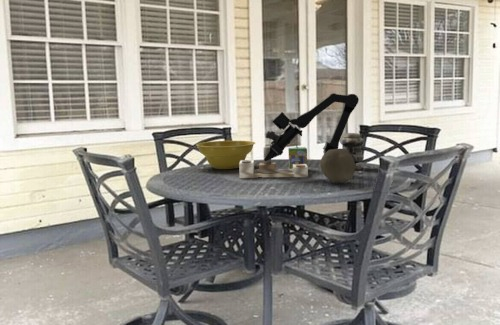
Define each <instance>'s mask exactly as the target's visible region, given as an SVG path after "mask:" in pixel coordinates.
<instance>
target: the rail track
mask: <svg viewBox="0 0 500 325" xmlns="http://www.w3.org/2000/svg"><path fill="white" fill-rule="evenodd" d="M238 168H239V171H238V172H239V179H255V178H256V179H257V178H258V177H262V178H292V177H293V178H309V166H308V167H307V165H306V164H293V169H289V168H276V170H259V168H257V169H255V160H254V159H248V160H247V159H245V160H241V161H240V163H239V167H238Z"/></svg>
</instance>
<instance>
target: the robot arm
mask: <svg viewBox="0 0 500 325" xmlns="http://www.w3.org/2000/svg"><path fill="white" fill-rule="evenodd" d="M359 100H360V99H359V96H358V95H357V94H355V93H348V94H340V93H339V94H338V93H334V92H333V93H330V94H329V95H328V96H327V97H326V98H324V99H322V101H320V102H319V103H318V104H317V105H315V106H313V108H311V109H310V110H308V111H306V112H304V113H302V114H300V115H297V117H296V118H289V117H288V116H287V115H286V114H285V113H284V112H283V111H281V112H280V113H279V114H278V115H277V116H276V117H275V118H274V119H273V120H272V121H271V123H273V124H274V125H275V127H277V128H278V129H279V130H284V131H283V132H282V133H280V134H276V133H275V131H273V130H271V131H270V130H267V132H266V134H265V138H266V139H269V140H271V142H270V144H269V147H270V151H269V153H268V154H267V156H266V157H265V159H264V158H263V162H264V161H267V160H270V159H271V160H272V159H274V158H277V157H278V156H281V155H283V153H284V150H285V149H286V147H287V146H288V145H289V144H291V142H292V141H293V140H294V139H295V138H296V137H297V136H298V135H299V136H300V137H303V130H301V129H305V128H306V127H307V126H308V125H309V124H310V123H311V122H312V121H313V119H315V117H316V116H318V115H319V114H320V113H322V112H323V111H325V110H326V109H327V108H328V107H330V106H331V105H333V104H334V103H342V104H343V105H342V108H341V109H342V110H341V112H340V113H341V114H340V116H339V118H338V121H337V123H336V126H335V129H334V131H333V133H332V134H331V135H332V136H331V138H330V140H329V141H327V140H326V141H325V143H324V146H323V148H322V149H323V155H324V154H325V153H326V152H327V151H329V150H332V149H339V144H340V140H341V139H342V137H343V134H344V131H345V128H346V125H347V123H348V120H349V118H350V117H351V114H352V113H353V111H355V108H357V106H358V104H359ZM290 123H291V124H290ZM293 125H294V127H293Z"/></svg>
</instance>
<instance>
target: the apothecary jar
mask: <svg viewBox="0 0 500 325" xmlns="http://www.w3.org/2000/svg"><path fill="white" fill-rule="evenodd" d="M364 143H365V142H364V138H362V135H361V133H357V132H346V133H344V132H343V133H342V137H341V138H340V141H339V144H341V145H342V148H341V149H344V150H346V151H348V152H349V153H350V154H351V155H352V158H353V160H354V162H355V171H356V170H357V171H358V170H362V166H359V165H357V164H359V163H361V162H362V161H364V159H365V157H364V155H363V153H362V145H363V144H364Z"/></svg>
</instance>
